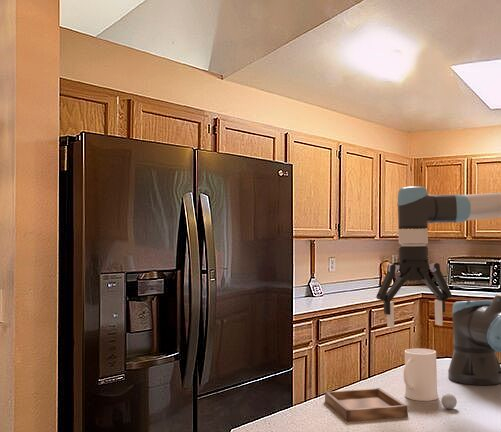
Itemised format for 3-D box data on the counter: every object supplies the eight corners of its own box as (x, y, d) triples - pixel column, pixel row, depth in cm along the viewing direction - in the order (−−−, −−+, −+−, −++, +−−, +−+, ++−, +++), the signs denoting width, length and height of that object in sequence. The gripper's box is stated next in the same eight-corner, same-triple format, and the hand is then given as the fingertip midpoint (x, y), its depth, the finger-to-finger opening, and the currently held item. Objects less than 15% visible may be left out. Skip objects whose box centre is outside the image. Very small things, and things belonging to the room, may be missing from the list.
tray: (379, 397, 160) (379, 388, 160) (407, 416, 144) (407, 405, 144) (325, 401, 158) (324, 392, 158) (347, 421, 141) (347, 410, 141)
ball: (452, 406, 152) (451, 391, 152) (459, 410, 148) (459, 395, 148) (438, 407, 151) (438, 392, 151) (446, 411, 147) (445, 396, 147)
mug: (416, 405, 153) (415, 357, 153) (389, 398, 160) (388, 352, 160) (445, 397, 160) (443, 351, 160) (418, 390, 167) (417, 346, 167)
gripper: (449, 244, 167) (451, 322, 166) (363, 245, 162) (364, 325, 162) (464, 244, 159) (465, 326, 159) (374, 246, 155) (375, 330, 154)
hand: (414, 326), depth 160 cm, fingers open, 13 cm apart
